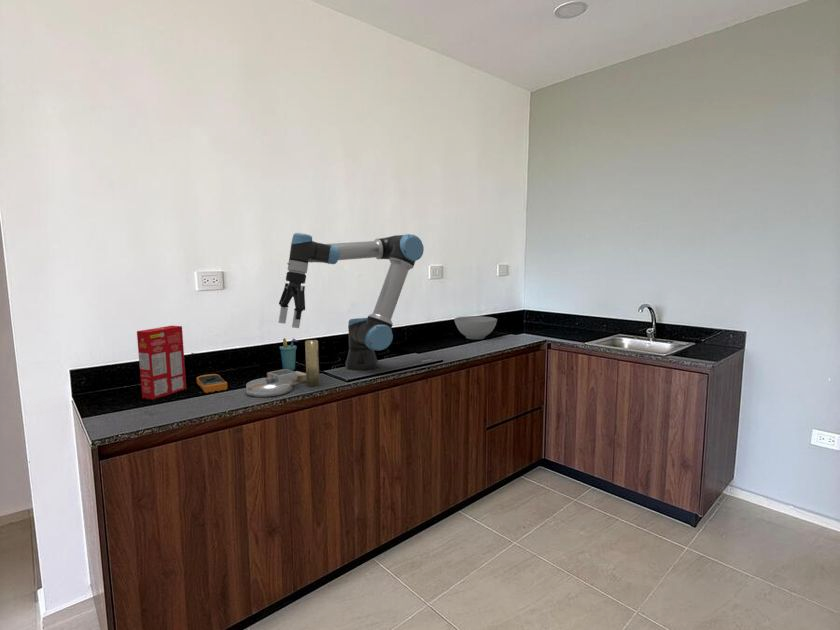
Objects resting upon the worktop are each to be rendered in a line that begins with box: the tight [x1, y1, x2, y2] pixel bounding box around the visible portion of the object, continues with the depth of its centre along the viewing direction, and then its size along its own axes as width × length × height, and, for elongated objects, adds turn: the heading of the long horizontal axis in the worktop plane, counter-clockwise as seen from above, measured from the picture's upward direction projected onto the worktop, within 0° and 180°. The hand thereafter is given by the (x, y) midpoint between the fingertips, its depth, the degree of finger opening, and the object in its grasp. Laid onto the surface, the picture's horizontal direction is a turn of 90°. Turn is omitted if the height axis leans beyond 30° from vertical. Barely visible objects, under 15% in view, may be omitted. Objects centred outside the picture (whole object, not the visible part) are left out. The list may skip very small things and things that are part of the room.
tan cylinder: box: [304, 339, 320, 388], centre depth 185 cm, size 5×5×18 cm
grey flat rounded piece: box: [245, 368, 297, 398], centre depth 178 cm, size 18×17×6 cm
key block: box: [292, 370, 307, 386], centre depth 191 cm, size 8×8×3 cm
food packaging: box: [136, 325, 187, 401], centre depth 173 cm, size 15×5×25 cm, turn 159°
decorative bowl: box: [453, 315, 498, 340], centre depth 291 cm, size 27×27×12 cm
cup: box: [279, 337, 299, 371], centre depth 210 cm, size 14×8×15 cm, turn 48°
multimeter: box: [196, 373, 228, 394], centre depth 184 cm, size 9×18×3 cm, turn 35°
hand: (288, 325), depth 182 cm, fingers open, 13 cm apart
